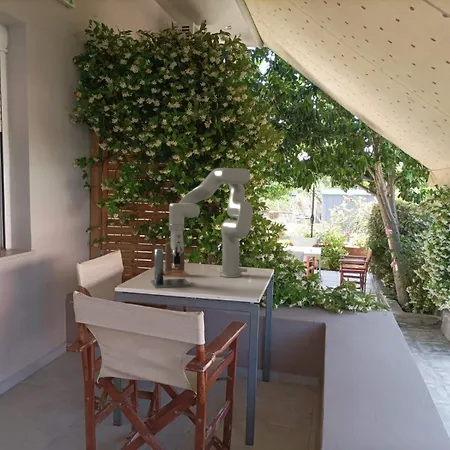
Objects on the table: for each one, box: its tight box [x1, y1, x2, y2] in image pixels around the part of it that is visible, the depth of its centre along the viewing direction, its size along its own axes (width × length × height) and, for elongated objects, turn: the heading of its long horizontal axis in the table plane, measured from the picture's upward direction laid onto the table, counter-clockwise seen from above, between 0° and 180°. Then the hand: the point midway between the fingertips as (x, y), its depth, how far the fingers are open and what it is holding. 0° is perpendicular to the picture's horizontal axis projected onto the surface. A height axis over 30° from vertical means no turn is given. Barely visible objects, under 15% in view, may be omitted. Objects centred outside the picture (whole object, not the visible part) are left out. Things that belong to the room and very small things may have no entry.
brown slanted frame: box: [164, 242, 185, 271], centre depth 249 cm, size 4×11×18 cm, turn 99°
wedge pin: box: [172, 249, 179, 269], centre depth 226 cm, size 3×3×10 cm
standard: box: [150, 248, 192, 289], centre depth 225 cm, size 18×14×18 cm
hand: (176, 263), depth 226 cm, fingers closed on wedge pin, 3 cm apart
